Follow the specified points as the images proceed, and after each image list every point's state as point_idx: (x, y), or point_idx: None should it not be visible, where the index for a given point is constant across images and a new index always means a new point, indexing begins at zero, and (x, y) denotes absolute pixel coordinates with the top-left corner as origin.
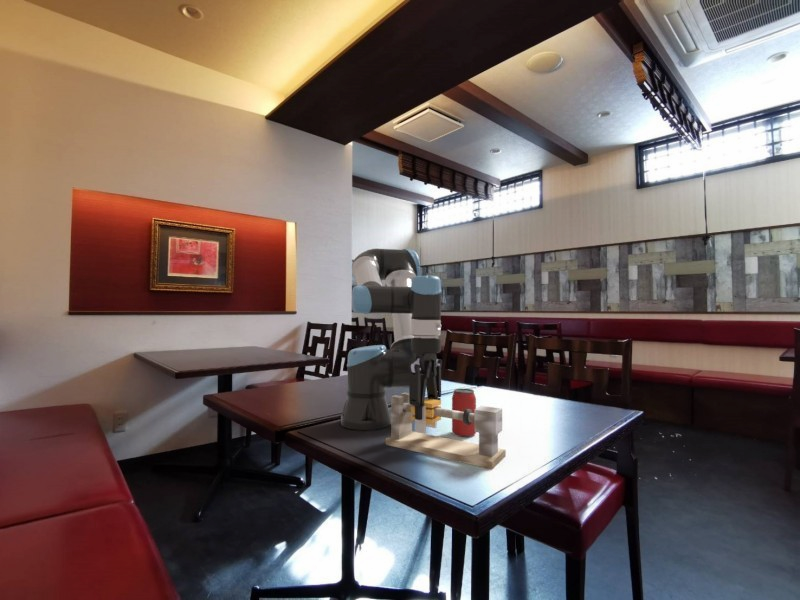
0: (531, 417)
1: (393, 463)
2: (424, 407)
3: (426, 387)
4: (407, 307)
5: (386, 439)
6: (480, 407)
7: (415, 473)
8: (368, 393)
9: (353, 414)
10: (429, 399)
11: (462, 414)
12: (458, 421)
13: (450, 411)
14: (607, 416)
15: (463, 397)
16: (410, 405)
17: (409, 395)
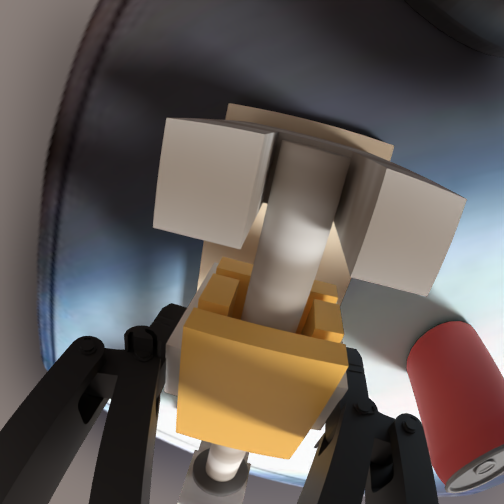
0: None
1: (94, 209)
2: (166, 388)
3: (324, 479)
4: None
5: (229, 107)
6: None
7: (78, 281)
8: None
9: None
10: (292, 421)
11: (207, 470)
12: (424, 379)
13: (215, 453)
14: (500, 480)
15: (439, 468)
16: (263, 278)
17: (48, 372)
